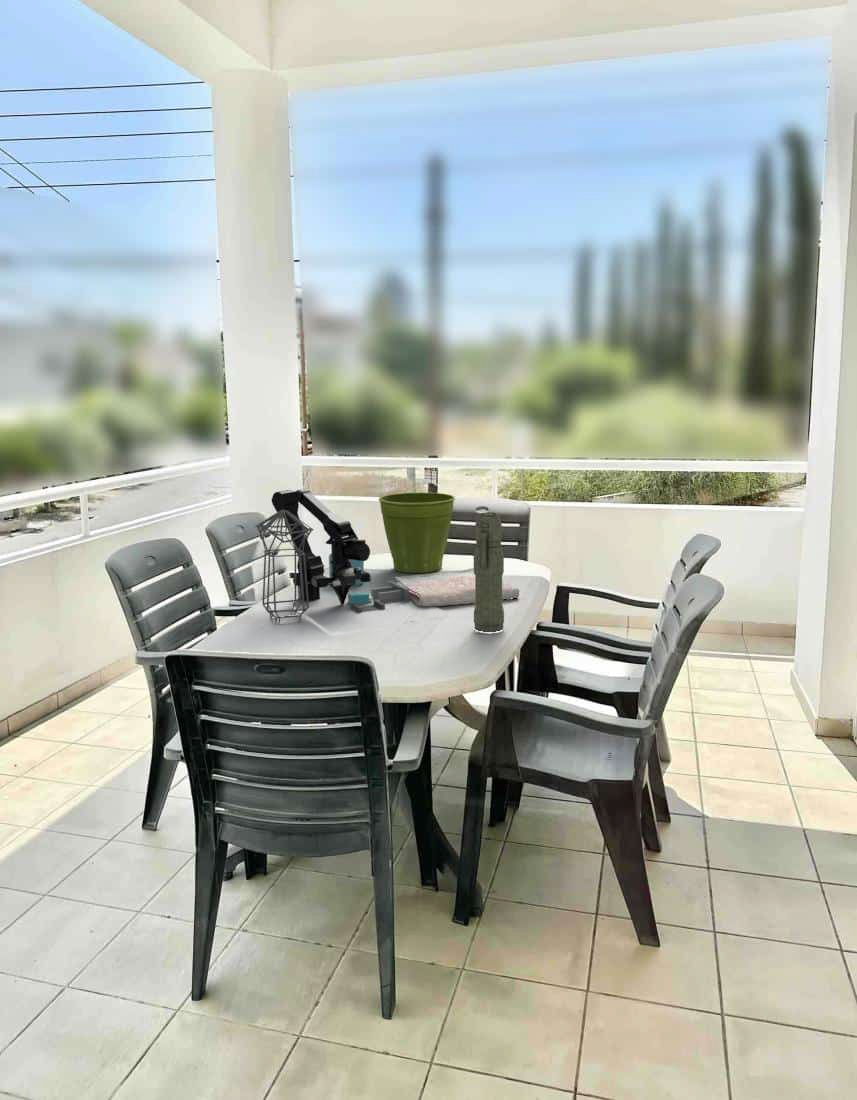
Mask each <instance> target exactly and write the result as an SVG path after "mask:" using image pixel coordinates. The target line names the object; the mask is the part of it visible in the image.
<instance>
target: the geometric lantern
mask: <svg viewBox="0 0 857 1100" xmlns="http://www.w3.org/2000/svg"><path fill="white" fill-rule="evenodd" d="M285 513H286V514H287V515H289V516H290V517H291V518H292V519H293V520H294V521H295V522H296V523H295V524H290V525H289V523H288V521H287V518H286V515H285ZM293 516H294V515H293V514H291V513H290V512H289V511H286V510H280V511H279V512H276V513H274V514H273V515H270V516H269V517H267V518H266V519H264V520H263V521H261V522H259V523H257V524H256V525H255V527H254V528H256V529H257V531H258V533H259V536H260V537H259V539H260V540H262V541H261V542H262V545H263V548H264V551H263V552H264V554H263V555H264V556H263V582H262V583H263V584H262V601H261V602H262V604H261V605H262V606H263V608H264V610H266V612H267V613H268V614H269V619H270V618H272V617H275V618H274V619H275V623H276V622H278V623H279V622H280V623H281V619H283V618H296V617H298V618H299V619H298V621H299V620H301V619H302V617H303V614H304V613H305V612H306V611H307V610H309V609H310V601H309V600H308V587H307V574H306V561H305V553H304V552H303V550H304V543H303V541H304V542H305V539H307V540H308V539H309V537H310V535H311V534H312V532H314V530H315V529H314V528H312V527H311V526H310V525H308V524H306V523H305V522H304V521H302V520H301V519H300V518H299V519H298V518H297V517H296V516H294V517H293ZM283 517H284V518H283ZM296 518H297V519H296ZM300 521H301V522H300ZM276 523H277V524H276ZM294 525H296V526H294ZM298 525H300V526H302V528H303V530H301V531H295V532H291V531H292V530H294V529H295V528H296V527H297V526H298ZM290 526H294V527H293V528H292V529H290ZM287 527H288V528H287ZM273 528H274V529H276V530H272V529H273ZM279 528H280V530H279ZM283 528H285V529H284V530H285V531H283ZM288 529H289V531H288ZM300 532H303V533H302V534H300V535H298V536H297V537H295V538H293V539H292V534H294V533H300ZM266 534H270V535H272V536H273V540H272V542H271V544H270V546H269V548H268V547H267V544H266V543H267V542H265V535H266ZM303 534H304V537H303V540H302V542H301V545H300V547H299V549H298V548H297V546H296V545H295V543H294V541H293V540H295V539H297V538H298V537H300V536H302V535H303ZM288 535H289V536H290V535H291V536H290V539H289V538H288ZM284 537H285V538H286V539H287V540H284ZM276 539H277V540H279V542H280V543H279V544H278V545H277V547H276V549H272V547H273V546H274V542H275V540H276ZM282 543H284V544H285V543H290V545H291V546H292V547H293V548H281V549H279V548H280V546H281V544H282ZM293 544H294V545H293ZM302 544H303V550H302V551H301V550H300V549H301V546H302ZM294 546H295V547H294ZM295 548H296V549H295ZM293 550H294V554H286V555H285V554H283V555H275V553H276V552H277V551H278V552H279V551H280V552H281V551H293ZM296 551H297V552H298V553H299V555H297V553H296ZM300 551H301V552H302V554H300ZM271 552H273V553H272V554H271ZM302 555H303V558H304V571H305V584H306V597H307V601H304V591H303V578H302V565H301V556H302ZM267 556H268V561H267ZM298 556H299V567H300V581H301V595H302V601H300V600H297V586H296V575H297V557H298ZM277 557H278V558H279V557H280V558H281V557H283V558H284V557H294V577H295V585H294V599H290V600H279V601H278V600H277V601H276V573H275V572H276V571H275V558H277ZM271 559H272V582H273V601H270V578H271V577H270V574H271ZM267 563H268V564H267ZM266 568H267V569H266ZM266 571H267V589H266ZM265 592H267V593H265ZM265 594H267V596H265ZM265 597H266V602H265ZM280 603H282V604H283V603H293V605H292V608H291V609H279V610H277V604H280ZM296 603H299V604H298V606H297V607H296V608H295V604H296ZM271 604H273V607H274V608H273V609H271V607H270V605H271ZM301 605H302V608H300V606H301ZM294 608H295V609H294ZM282 612H283V613H285V612H291V613H290V615H296V614H298V615H296V616H287V615H283V616H284V617H280V616H279V615H278V613H282ZM293 612H294V614H293ZM274 613H275V614H276V615H275V614H274ZM301 621H302V620H301Z"/></svg>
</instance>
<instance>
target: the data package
mask: <svg viewBox="0 0 857 1100" xmlns="http://www.w3.org/2000/svg"><path fill="white" fill-rule="evenodd" d="M331 560H332V552H331V553H330V554H329V555H328V568H329V569H328V571H329V573H328V574H329V577H332V576H331V572H332V564H331ZM349 561H350V562H351V567H352V569H353V568H360V569H361V571H363V570H364V571H365V569H364V568H365V561H358V560H350V559H349ZM336 580H338V579H336ZM362 583H363V582H361V581H360V579H359V580H356V583H355V584H354V585H358V586H361V584H362ZM340 585H341V584H340Z"/></svg>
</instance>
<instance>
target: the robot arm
mask: <svg viewBox="0 0 857 1100" xmlns="http://www.w3.org/2000/svg"><path fill="white" fill-rule="evenodd" d="M271 503H272V506H273V508H274V509H275V512H276V513H277V512H279V511H280V510H286V511H289V512H290V513H291V514H293V515H294V516H296V517H297V518H298V519H300V517H299V513H298V512H299V506H300V505H302V506H303V508H304V509H306V510H307V511H308V512H309V513H310V514H311V515H312V516H313V517H314V518H315V519H317V520H318V522H320V523H321V524H322V527H323V530H324V532H325V533H326V534H327V535H328V536H329V539H328V540H327V541H325V544H327V545H330V547H331V548H330V549H331V553H332V560H331V564H332V572H331V576H332V577H330V576H329V577H327V576H325V575H324V573H325V564H324V563H323V560H322V557H321V555H315V553H313V550H312V549H311V548H312V547H311V546H310V543H309V541H308V539H305V542H304V541H303V543H304V550H303V544H302V546H301V549H300V550H301V551H302V550H303V552H304V553H305V561H306V574H307V587H308V600H309V602H314V601H317V600H320V599H321V593H320V589H321V588H327V587H328V586H329V587H331V588H333V591H334V593H335V595H336V597H337V599H338V602H339V603H340V605H341V606H342V605H344V604H345V602H346V598H347V597H348V594H349V593H348V592H349V590H350V588H352V587H355V586H354V584H355V583H356V580H359V579H360V581H361V582H362V583H367V582H371V574H370V573H369V572H368V571H365V569H364V570H363V571H361V569H360V568H353V569H352V567H351V562H350V561H349V559H350V560H358V561H364V562H365V561H368V559H369V558H370V554H371V549H370V546H369V545H368V544H367V542H366V539H359V537H358V536H357V534H356V532H355V531H354V529H353V527H352V523H351V522H350V521H349V520H348V519H346V518H345V517H344V516H342V515H339V514H336V513H334V512H333V511H331V510H330V509H329V508H328V507H327V506H326V505H324V503H322V502H321V501H320V500H319V499H318V498H317V497H316V496H315V495H313V494H312V493H311V491H310V489H307V488H303V489H302V488H301V489H297V490H291V489H288V490H287V489H285V490H281V491H275V492H274V493H273V495H272V498H271ZM299 504H300V505H299ZM285 515H286V518H287V521H288V523H289V525H290V524H295V523H296V522H295V521H294V520H293V519H292V518H291V517H290V516H289V515H287V514H286V513H285ZM294 516H293V517H294ZM297 518H296V519H297ZM283 519H284V517H283ZM301 521H302V520H301ZM301 521H300V522H301ZM294 526H296V525H294ZM294 526H290V529H292V528H293V527H294ZM301 530H303V528H302V526H300V525H298V526H297V527H296V528H295V529H294V530H292V531H291V532H295V531H301ZM287 532H289V529H288V527H287ZM302 533H303V532H300V533H294V534H292V539H293V538H295V537H297V536H298V535H300V534H302ZM289 536H290V537H291V535H290V534H289ZM303 537H304V534H303V535H302V536H300V537H298V538H297V539H295V540H293V541H294V543H295V545H296V546H297V548H298V549H299V547H300V545H301V542H302V540H303ZM292 544H293V543H292ZM293 546H294V544H293ZM294 547H295V546H294ZM294 547H293V548H294ZM295 549H296V548H295ZM301 551H300V554H302V552H301ZM296 555H299V553H298V552H297V551H296ZM301 565H302V578H303V591H304V602H307V597H306V584H305V571H304V558H303V555H302V556H301ZM296 569H297V570H298V571H297V573H296V587H297V597H298V598H296V600H300V601H302V595H301V581H300V567H299V556H297V563H296ZM336 579H338V580H336ZM292 583H293V585H294V586H295V576H294V578H292ZM340 584H341V585H340Z"/></svg>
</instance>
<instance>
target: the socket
mask: <svg viewBox="0 0 857 1100" xmlns="http://www.w3.org/2000/svg"><path fill="white" fill-rule="evenodd" d="M370 596H371V597H373V600H374V599H375V600H376V599H378V601H379V602H381V603H383V604H384V603H389V602H397V601H404V602H405V603H408V602H410V599H409V589H407V588H405V587H403V586H401V585H399V584H397V583H395V581H393V580H391V581H388V586H383V587H375V588H370Z"/></svg>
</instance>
